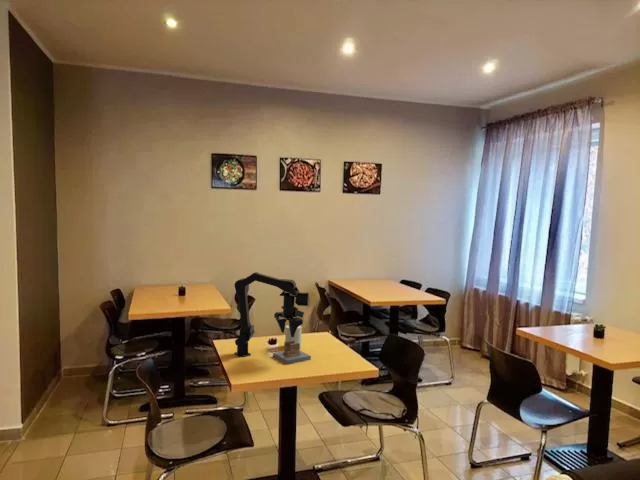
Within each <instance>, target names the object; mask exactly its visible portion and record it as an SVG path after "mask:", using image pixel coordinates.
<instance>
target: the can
mask: <svg viewBox="0 0 640 480" xmlns="http://www.w3.org/2000/svg"><path fill="white" fill-rule="evenodd" d="M302 328H303V326H302V325H300V326H298V327H297V329H296V332H295V335H294V337H291V333H290V329H289V324H287V325H285V330H284V334H285V339H284V342H285V341H291V340H294V343H300V349H301V348H302V332H303V331H302V330H303V329H302Z"/></svg>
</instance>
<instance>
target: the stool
mask: <svg viewBox="0 0 640 480" xmlns="http://www.w3.org/2000/svg"><path fill="white" fill-rule="evenodd" d="M283 343H284V345H283V346H284V347H283V348H284V349H283V350H282V351H283V354H285V355H287V356H289V357H294V356H299V355H300V351H301V348H300V343H294V340H291V341H285V340H284V342H283Z"/></svg>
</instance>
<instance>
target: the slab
mask: <svg viewBox="0 0 640 480" xmlns="http://www.w3.org/2000/svg"><path fill="white" fill-rule="evenodd" d="M283 351H284V350H280V351H275V352H273V353H272V357H273V356H274V357H273V358H275V359H277V360H278V361H281V362H282V363H284V364H286V365H291V364H297V363H300V362H307V361H310V360H311V359H312V355H310V354H308V353H306V352H304V351H301V350H300V355H299V356H294V357H289V356H287V355H285V354H283Z"/></svg>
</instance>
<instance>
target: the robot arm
mask: <svg viewBox="0 0 640 480" xmlns="http://www.w3.org/2000/svg"><path fill="white" fill-rule="evenodd" d="M255 281H256V282H259V283H262V284H265V285H270V286H274V287H276V288H278V289H280V290H281V291H282V292H281V293H280V294H279V296H280V297H283V304H282V305H281V309H282V311H276V312H275V313H274V315H273V317H274V319H275V320H276V322H277V324H278V327H279V328H280V331H281V334H285V330H286V328H285V326H286V322H287V321H288V323H289V324H288V325H289V329H290V333H291V337H294V335H295V332H296V329H297V327H298V326H302V325H303V324H304V319H303V318H304V314H305V312H304V311H301V310H299V308H298V307H296V306H295V304H296V305H297V306H300V307H303V306H304V307H309V306H310V293H309V292H301V291H300V290H299V288H298V287H297V283H296V281H295V280H294V279H287V278H278V277H275V276H270V275H266V274H262V273H259V272H257V271H256V272H253V273H251V274H250V275H248V276H247V277H244V278H243V277H242V278H240V279H237V280H236V281H235V283H234V289H235V293H236V295H237V297H238V303H239V304H238V305H239V314H240V315H239V316H240V328H239V335H238V336H239V337H237V338H236V339H235V340H234V343H235V345H236V351H235V352H234V355H236V356H238V357H240V358H241V357H246V356H251V354H252V353H250V352H249V342H250V341H251V339H252V338H253V337H254V334H255V333H256V332H255V325H254V324H251V322H250V312H249V302H248V301H249V299H248V294H249V289H250V285H251V284H252V283H254V282H255Z"/></svg>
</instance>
